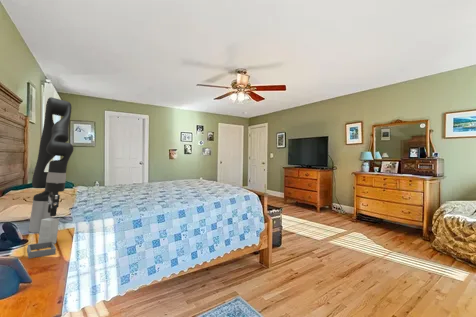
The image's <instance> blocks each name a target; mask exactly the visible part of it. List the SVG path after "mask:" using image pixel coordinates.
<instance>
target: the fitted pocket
mask: <svg viewBox="0 0 476 317" xmlns="http://www.w3.org/2000/svg"><path fill="white" fill-rule="evenodd" d="M56 251H57V247H56V246H55V244H54V243H53V242H46V243H38V242H37V243H30V244H27V248H26V252H27V258H28V259H33V258H40V257H45V256H46V257H47V256H52V255H56Z"/></svg>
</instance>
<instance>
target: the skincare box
mask: <svg viewBox="0 0 476 317" xmlns="http://www.w3.org/2000/svg"><path fill="white" fill-rule="evenodd" d="M59 225H60V219H59V218H53V217H52V218H46V219H42V220H41V226H40V233H38V240H37V241H38V242H37V243H46V242H53V243H54V245H55V244H56V243H57V239H58V231H59Z"/></svg>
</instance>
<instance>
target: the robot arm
mask: <svg viewBox="0 0 476 317" xmlns="http://www.w3.org/2000/svg"><path fill="white" fill-rule="evenodd" d="M72 109H73V108H72V103H71V102H69V101H67V100H63V99H59V98H55V97H52V96H51V97H49V98H47V101H46V105H45V114H44V123H43V128H42V133H41V138H40V142H39V148H38V155H37V160H36V162H35V167H34V171H33V173H32V179H31V185H32V187H33V188H34V189H44V190H43V191H42V192H39V193H37V194H34V195H33V198H32V203H31V204H32V206H31V212H30V220H29V225H28V232H29V233H32V234H33V233H34V234H39V233H40V226H41V220H42V219H46V218H53V217H56V215H57V210H58V208H59V204H60V197H61V195H60V194H59V193H60V192H64V191H65V189H66V188H65V187H66V180H67V168H68V163H69V160H70V158H71V156H72V154H73V152H74V149H75V148H74V145H73V144H72V143H70V142H68V141H69V137H70V136H69V133H70V132H69V127H70V122H71V114H72ZM53 115H54V116H59V117H62V118H61V119H59V120H57V122H54V118H53ZM56 156H57V157H62V158H61V159H57V160H56V159H55V160H53V159H54V158H55V157H56ZM47 166H48V171H45V169H46V168H47Z"/></svg>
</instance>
